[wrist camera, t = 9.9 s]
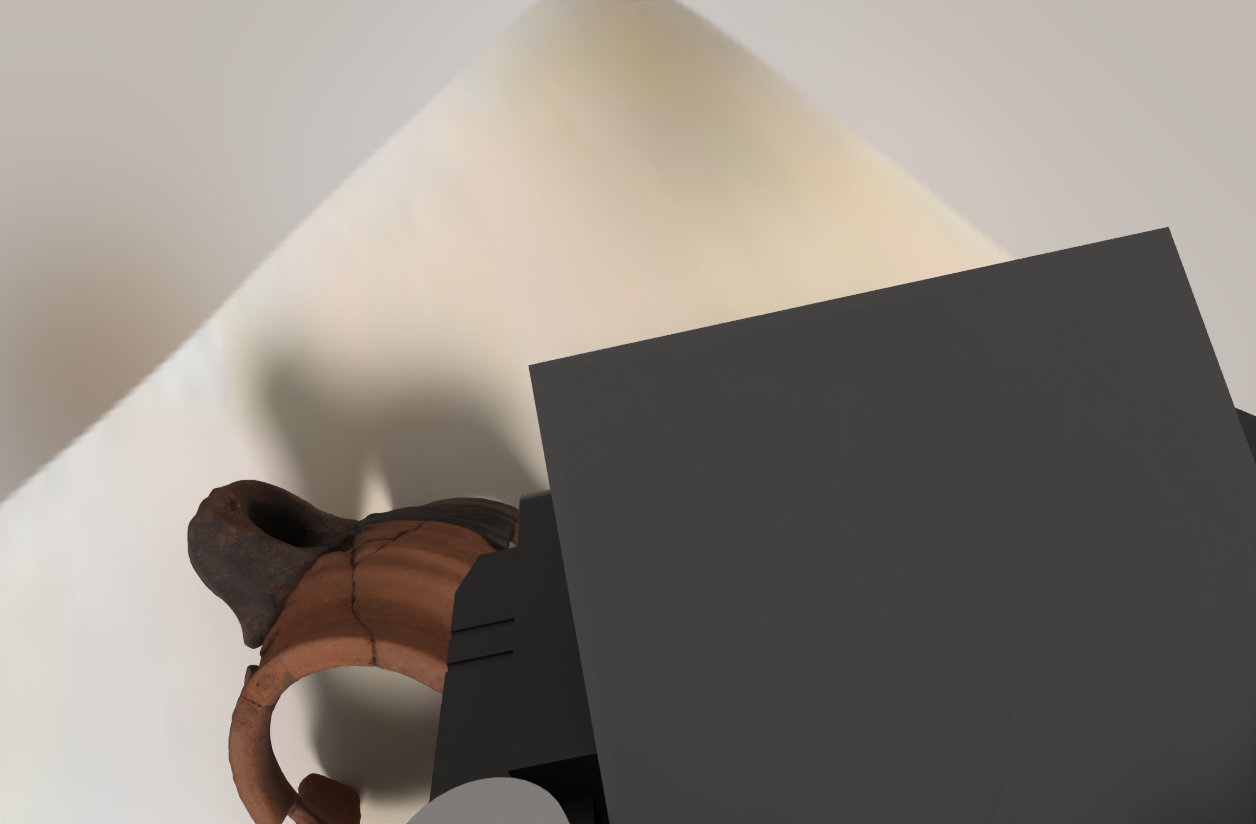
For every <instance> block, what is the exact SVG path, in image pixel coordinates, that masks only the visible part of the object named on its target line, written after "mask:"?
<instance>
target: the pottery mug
mask: <svg viewBox="0 0 1256 824" xmlns="http://www.w3.org/2000/svg"><path fill="white" fill-rule="evenodd" d="M518 529H519V510H517V509H516V508H515V507H513V506H510V505H507V504H504V503H501V502H496V501H492V500H488V499H483V498H451V499H445V500H439V501H435V502H432V503H429V504H426V505H423V506H418V507H406V508H401V509H396V510H392V511H389V512H384V513H374V514H370V515H368V516H367V517H366V518H365V519H363V520H361V521H357V520H351V519H344V518H340V517H336V516H334V515H331V514H328V513H326V512H323V511H321V510H319V509H317V508H315V507H314V506H313V505H311V504H310V503H308V502H307V501H305V500H303V499H301V498H299V497H298V496H296V495H294V494H292V493H290V492H289V491H287V490H284V489H282V488H280V487H277V486H274V485H271V484H268V483H265V482H261V481H256V480H240V481H236V482H233V483H231V484H229V485H226V486H223V487H219V488H215V489H213V490H212V492H211V493H210V494H209V496H208V497H207V498H206V499H204V500H203V501H202V502H201V504H200V506H199V508H198V511H197V513H196V515H195V516H194V517H193V518H192V520H191V521H190V523H189V526H188V538H187V539H188V554H189V558H190V562H191V564H192V566H193V568H194V570H195V572H196V573H197V574H198V576H199V577H200V579H201V580H202V581H203V583H204V584H205V585H206V586H207V587H208V588H209V589H210V590H211V591H212V592H213V593H214V594H215V595H216V596H218V597H219V598H221V599H222V600H223V601H224V602H225V603H226V604H227V605H228V606H229V607H230V608H231V609H232V610H233V612H234V613H235V615H236V616H237V618H238V620H239V622H240V624H241V627H242V632H243V639H244V643H245V645H246V646H248V647H250V648H252V649H255V648H258V647H260V646H262V645H263V646H262V648H261V650H260V656H261V661H260V665H259V666H257V665H250V666H248V667H247V671H246V675H245V681H244V687H243V689H242V691H241V695H240V697H239V699H238V701H237V704H236V707H235V709H234V712H233V715H232V723H231V727H230V734H229V747H228V748H229V762H230V765H231V769H232V773H233V780H234V782H235V784H236V787H237V790H238V794H239V796H240V799H241V800H242V802H243V804H244V805H245V807H246V809H247V811H248V812H249V814H250V816H251V818H252V819H253V820H254V822H255V823H256V824H282V823H283V821H284V819H285V818H286V816H287V815H288V816H289V817H290V818H291V819H292V820H294V821H295V822H296V824H360V819H361V813H360V799H359V796H358V794H357V793H356V792H355V791H354V790H352V789H351V788H349V787H347V786H345V785H343V784H341V783H339V782H338V781H336V780H333V779H330V778H327V777H325V776H323V775H319V774H315V773H312V774H309V775H308V776H307V777H305V778H304V779H303V780H302V782H301V783H300V785H299V787H298V791H299V793H297V792H296V791H295V790H294V789H293V787H292V786H291V785H290V784H289V782H288V781H287V779H286V778H285V776H284V774H283V772H282V771H281V769H280V767H279V764H278V762H277V760H276V758H275V755H274V753H273V750H272V745H271V739H270V723H271V716H272V712H273V710H274V708H275V706H276V704H277V702H278V700H279V698H280V696H281V694H282V693H283V692H284V691H285V690H286V689H287V688H288V687H289V686H290V685H292V684H293V683H295V682H296V681H298V680H299V679H301V678H303V677H305V676H307V675H310V674H312V673H315V672H318V671H321V670H325V669H329V668H336V667H341V666H377V667H379V668H382V669H386V670H390V671H394V672H398V673H401V674H403V675H406V676H408V677H411V678H413V679H415V680H417V681H419V682H421V683H423V684H425V685H427V686H429V687H431V688H432V689H434V690H436V691H438V692H441V693H443V688H444V680H445V672H448V668H447V664H446V663H447V655H448V647H449V639H452V637H451V632H450V630H451V622H452V614H453V605H454V597H455V592H456V590H457V589H458V587H459V586H460V584H461V583H462V581H463V579H464V578H465V576H466V575H467V573H468V572H469V570H470V569H471V567H472V565H473V564H474V562H475V561H476V559H477V558H478V556H479V555H481V554H486V553H491V552H495V551H500V550H505V549H509V544H510V541H511V542H512V543H514V544H515V545H516V546H518Z"/></svg>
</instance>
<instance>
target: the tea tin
mask: <svg viewBox="0 0 1256 824" xmlns="http://www.w3.org/2000/svg"><path fill="white" fill-rule="evenodd" d="M529 371H530V376H531V382H532V388H533V393H534V399H535V405H536V410H537V416H538V422H539V427H540V433H541V439H542V444H543V450H544V455H545V461H546V467H547V472H548V478H549V484H550V489H551V495H552V501H553V506H554V512H555V518H556V523H557V529H558V535H559V540H560V546H561V551H562V557H563V563H564V568H565V574H566V580H567V585H568V591H569V597H570V602H571V608H572V614H573V619H574V625H575V631H576V636H577V642H578V648H579V653H580V659H581V664H582V670H583V676H584V681H585V687H586V693H587V698H588V704H589V710H590V715H591V721H592V727H593V732H594V738H595V744H596V749H597V755H598V760H599V766H600V772H601V777H602V783H603V789H604V794H605V800H606V806H607V811H608V817H609V823H610V824H1256V464H1255V461H1254V459H1253V456H1252V453H1251V450H1250V448H1249V445H1248V442H1247V440H1246V437H1245V434H1244V431H1243V429H1242V426H1241V423H1240V420H1239V418H1238V415H1237V412H1236V409H1235V407H1234V404H1233V401H1232V399H1231V396H1230V393H1229V390H1228V388H1227V385H1226V382H1225V380H1224V377H1223V374H1222V371H1221V369H1220V366H1219V363H1218V360H1217V358H1216V355H1215V352H1214V349H1213V347H1212V344H1211V342H1210V339H1209V336H1208V333H1207V330H1206V328H1205V325H1204V322H1203V320H1202V317H1201V314H1200V311H1199V309H1198V306H1197V303H1196V300H1195V298H1194V295H1193V293H1192V289H1191V287H1190V284H1189V281H1188V279H1187V276H1186V273H1185V270H1184V268H1183V265H1182V262H1181V260H1180V257H1179V254H1178V251H1177V249H1176V246H1175V243H1174V240H1173V238H1172V235H1171V232H1170V229H1169V227H1166V228H1161V229H1156V230H1152V231H1148V232H1143V233H1138V234H1133V235H1129V236H1124V237H1120V238H1115V239H1110V240H1106V241H1101V242H1097V243H1092V244H1087V245H1083V246H1078V247H1073V248H1069V249H1064V250H1059V251H1055V252H1050V253H1046V254H1041V255H1036V256H1032V257H1027V258H1022V259H1018V260H1013V261H1009V262H1004V263H999V264H995V265H990V266H985V267H981V268H976V269H972V270H967V271H962V272H958V273H953V274H948V275H944V276H939V277H935V278H930V279H925V280H921V281H916V282H911V283H907V284H902V285H898V286H893V287H888V288H884V289H879V290H875V291H870V292H865V293H861V294H856V295H851V296H847V297H842V298H838V299H833V300H828V301H824V302H819V303H814V304H810V305H805V306H801V307H796V308H791V309H787V310H782V311H777V312H773V313H768V314H764V315H759V316H754V317H750V318H745V319H741V320H736V321H731V322H727V323H722V324H717V325H713V326H708V327H704V328H699V329H694V330H690V331H685V332H680V333H676V334H671V335H667V336H662V337H657V338H653V339H648V340H643V341H639V342H634V343H630V344H625V345H620V346H616V347H611V348H606V349H602V350H597V351H593V352H588V353H583V354H579V355H574V356H570V357H565V358H560V359H556V360H551V361H546V362H542V363H537V364H533V365H529Z"/></svg>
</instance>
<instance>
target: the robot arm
mask: <svg viewBox="0 0 1256 824" xmlns="http://www.w3.org/2000/svg"><path fill="white" fill-rule="evenodd" d="M1235 409H1236V412H1237V415H1238V418H1239V420H1240V423H1241V426H1242V429H1243V431H1244V434H1245V437H1246V440H1247V442H1248V445H1249V448H1250V450H1251V453H1252V456H1253V459H1254V461H1255V464H1256V416H1254V415H1251V414H1249V413H1247V412H1244V411H1242V410H1239V409H1237V408H1235ZM450 632H451V637H452V639H449V647H448V655H447V663H446V664H447V668H448V672H445V680H444V688H443V696H442V704H441V712H440V721H439V729H438V737H437V745H436V754H435V762H434V770H433V778H432V787H431V795H430V800H429V803H428V804H427V805H426V806H424V807H423V808H422V809H421V810H420V811H419V812H418V813H417V814H416V815H414V816H413V817H412V818H411V819H410V821H409V822H408V823H407V824H610V823H609V817H608V811H607V806H606V800H605V794H604V789H603V783H602V777H601V772H600V766H599V760H598V755H597V749H596V744H595V738H594V732H593V727H592V721H591V715H590V710H589V704H588V698H587V693H586V687H585V681H584V676H583V670H582V664H581V659H580V653H579V648H578V642H577V636H576V631H575V625H574V619H573V614H572V608H571V602H570V597H569V591H568V585H567V580H566V574H565V568H564V563H563V557H562V551H561V546H560V540H559V535H558V529H557V523H556V518H555V512H554V506H553V501H552V495H551V490H546V491H541V492H536V493H532V494H527V495H522V496H521V498H520V506H519V529H518V547H514V548H510V549H505V550H500V551H495V552H491V553H486V554H481V555H479V556H478V558H477V559H476V561H475V562H474V564H473V565H472V567H471V569H470V570H469V572H468V573H467V575H466V576H465V578H464V579H463V581H462V583H461V584H460V586H459V587H458V589H457V590H456V592H455V597H454V605H453V614H452V622H451V630H450Z"/></svg>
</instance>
